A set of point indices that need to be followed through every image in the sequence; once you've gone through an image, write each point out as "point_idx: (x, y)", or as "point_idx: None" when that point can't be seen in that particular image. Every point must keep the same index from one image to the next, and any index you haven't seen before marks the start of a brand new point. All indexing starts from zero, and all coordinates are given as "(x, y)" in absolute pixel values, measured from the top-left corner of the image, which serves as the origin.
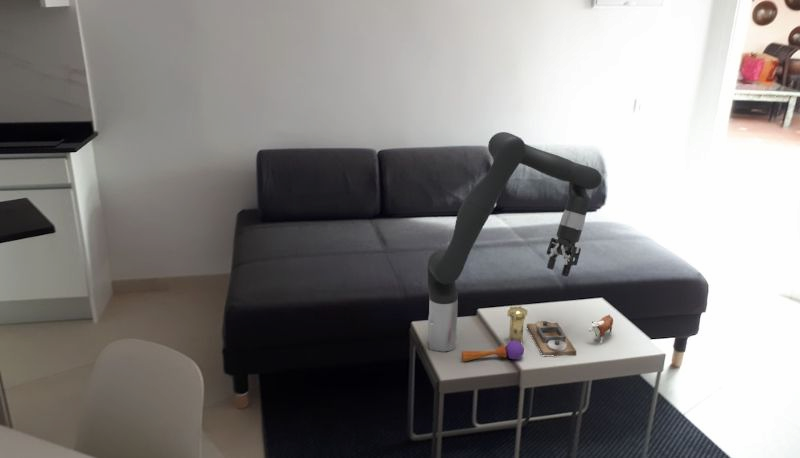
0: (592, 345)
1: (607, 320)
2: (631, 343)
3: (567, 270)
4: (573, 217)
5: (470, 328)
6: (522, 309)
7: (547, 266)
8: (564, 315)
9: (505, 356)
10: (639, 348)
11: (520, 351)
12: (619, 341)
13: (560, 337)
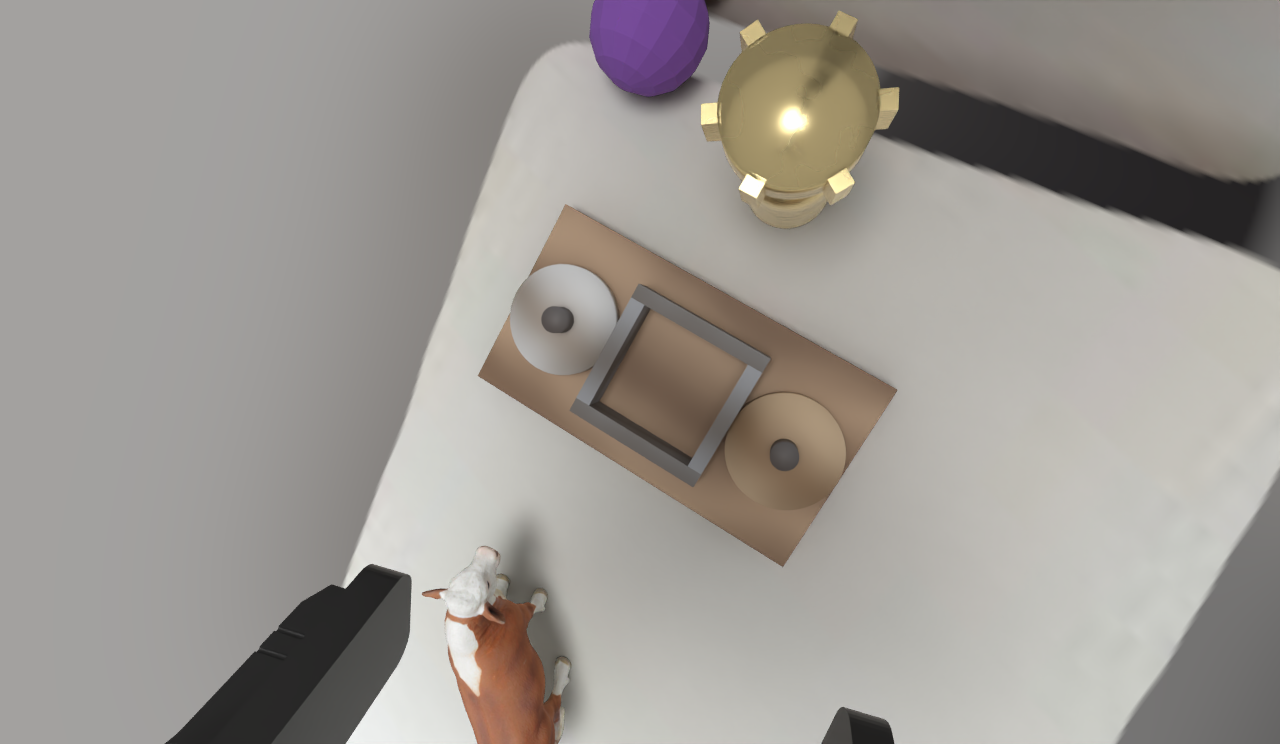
0: (512, 530)
1: (475, 722)
2: (422, 704)
3: (260, 673)
4: None
5: (1147, 33)
6: (780, 158)
7: (880, 736)
8: None
9: None
10: None
11: (590, 25)
12: None
13: (586, 381)
